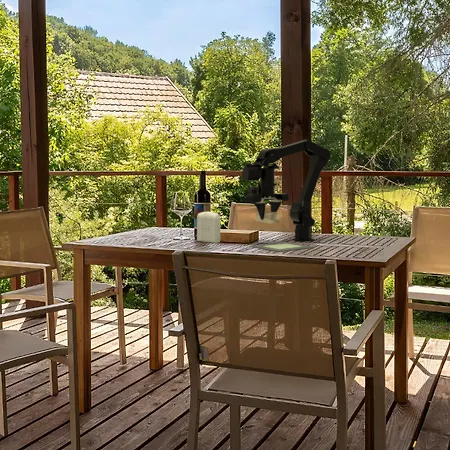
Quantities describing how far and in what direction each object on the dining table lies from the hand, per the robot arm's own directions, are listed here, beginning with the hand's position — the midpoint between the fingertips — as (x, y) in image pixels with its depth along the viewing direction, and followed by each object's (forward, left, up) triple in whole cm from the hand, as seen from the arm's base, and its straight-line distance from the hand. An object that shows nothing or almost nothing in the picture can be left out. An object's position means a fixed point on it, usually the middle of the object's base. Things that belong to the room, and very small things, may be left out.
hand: (267, 219), depth 281 cm
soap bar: (+17, -17, -10) cm, 26 cm away
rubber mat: (+4, +14, -10) cm, 17 cm away
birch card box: (0, 0, -1) cm, 1 cm away
